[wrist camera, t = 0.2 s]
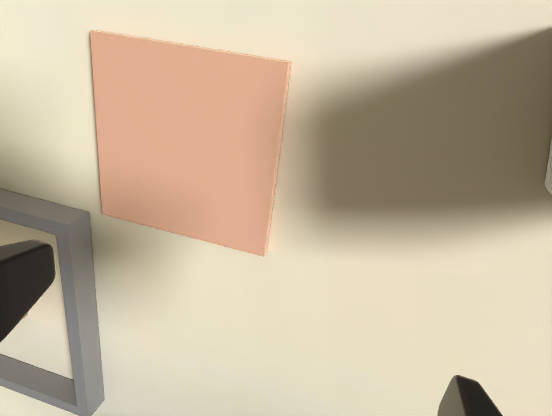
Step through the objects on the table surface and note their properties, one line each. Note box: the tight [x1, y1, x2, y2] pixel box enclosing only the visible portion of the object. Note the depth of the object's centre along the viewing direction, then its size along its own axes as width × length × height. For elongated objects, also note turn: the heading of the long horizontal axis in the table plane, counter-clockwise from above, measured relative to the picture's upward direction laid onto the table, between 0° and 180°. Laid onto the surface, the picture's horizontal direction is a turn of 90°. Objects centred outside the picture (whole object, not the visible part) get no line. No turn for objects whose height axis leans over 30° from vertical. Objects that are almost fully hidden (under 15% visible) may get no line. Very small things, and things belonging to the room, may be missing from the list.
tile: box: [90, 30, 291, 256], centre depth 24 cm, size 11×11×1 cm
